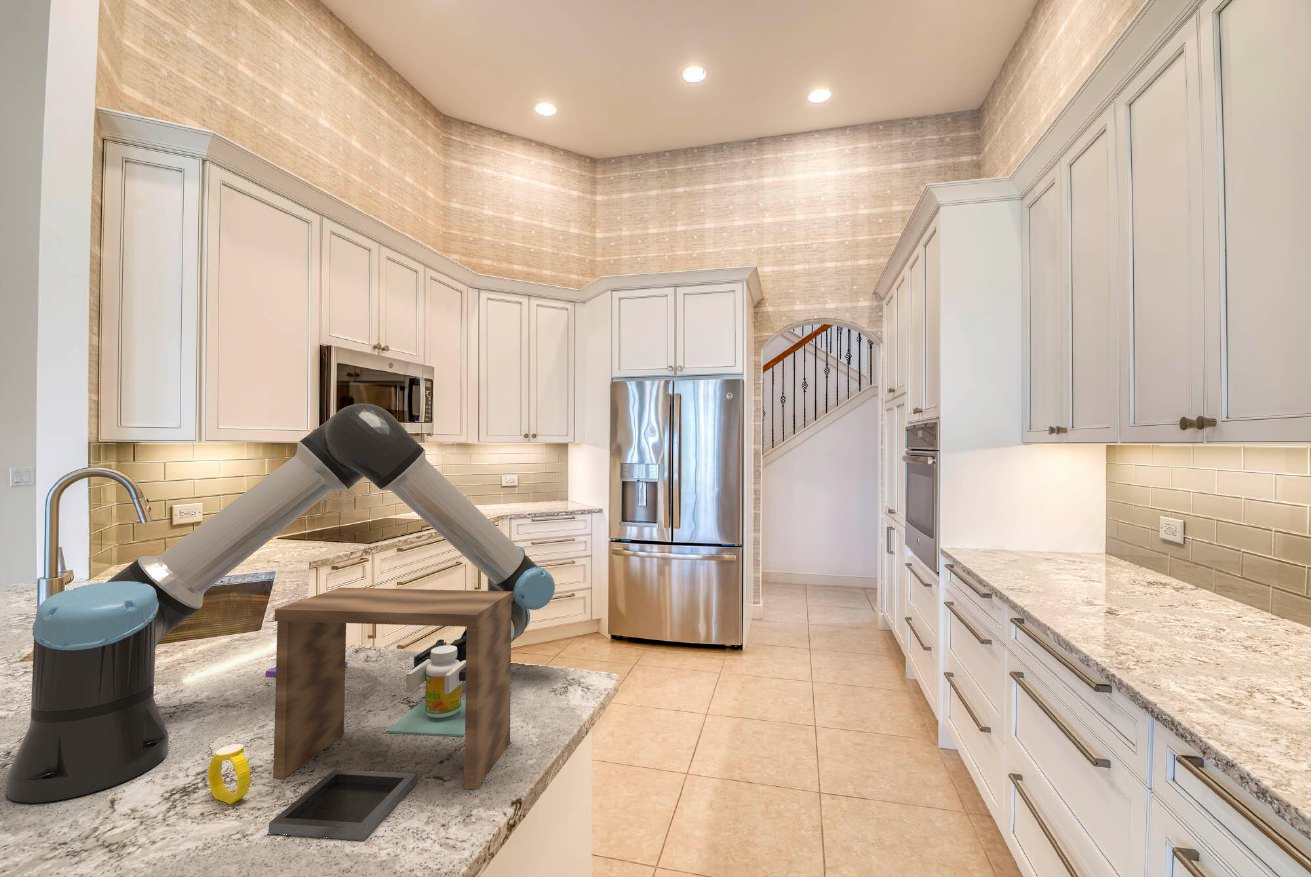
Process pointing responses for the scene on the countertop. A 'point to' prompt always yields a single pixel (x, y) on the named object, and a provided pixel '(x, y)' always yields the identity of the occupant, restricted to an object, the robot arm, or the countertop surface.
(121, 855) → the countertop surface
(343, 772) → the tray
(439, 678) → the supplement bottle
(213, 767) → the watch
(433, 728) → the pad
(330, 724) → the tunnel
